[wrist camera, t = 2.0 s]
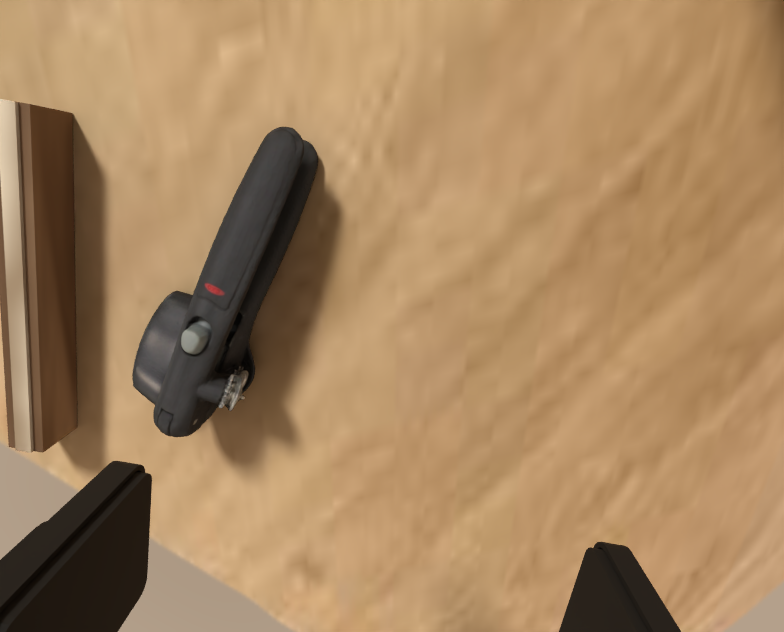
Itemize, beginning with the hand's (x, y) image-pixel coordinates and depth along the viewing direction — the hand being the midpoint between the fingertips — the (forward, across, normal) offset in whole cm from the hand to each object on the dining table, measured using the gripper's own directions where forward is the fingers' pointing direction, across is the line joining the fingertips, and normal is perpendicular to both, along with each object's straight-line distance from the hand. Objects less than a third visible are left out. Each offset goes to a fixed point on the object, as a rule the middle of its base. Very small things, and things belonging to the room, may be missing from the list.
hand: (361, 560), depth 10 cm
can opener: (+19, +9, -1) cm, 21 cm away
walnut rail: (+19, +20, +1) cm, 27 cm away
